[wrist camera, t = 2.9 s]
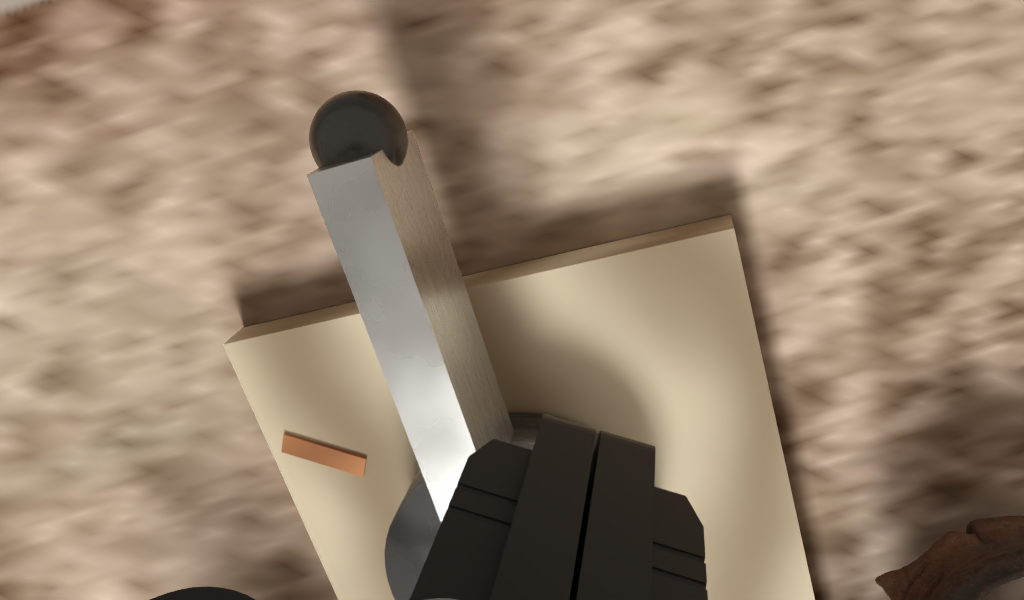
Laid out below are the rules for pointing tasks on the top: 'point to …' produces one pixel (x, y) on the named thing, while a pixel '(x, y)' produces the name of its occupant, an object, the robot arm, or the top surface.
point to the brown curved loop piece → (963, 563)
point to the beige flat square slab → (553, 400)
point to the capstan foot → (409, 311)
